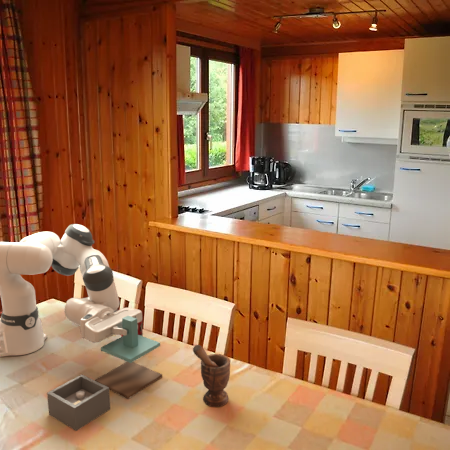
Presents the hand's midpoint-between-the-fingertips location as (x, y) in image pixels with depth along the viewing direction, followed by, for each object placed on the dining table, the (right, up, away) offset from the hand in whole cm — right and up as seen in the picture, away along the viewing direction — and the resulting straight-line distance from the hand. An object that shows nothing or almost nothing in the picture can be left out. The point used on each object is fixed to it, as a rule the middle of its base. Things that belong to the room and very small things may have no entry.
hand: (131, 330), depth 151 cm
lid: (-1, -7, +2) cm, 8 cm away
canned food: (-5, -11, +28) cm, 30 cm away
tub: (-13, -21, -13) cm, 27 cm away
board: (-2, -17, +4) cm, 17 cm away
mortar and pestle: (+25, -20, -7) cm, 33 cm away
